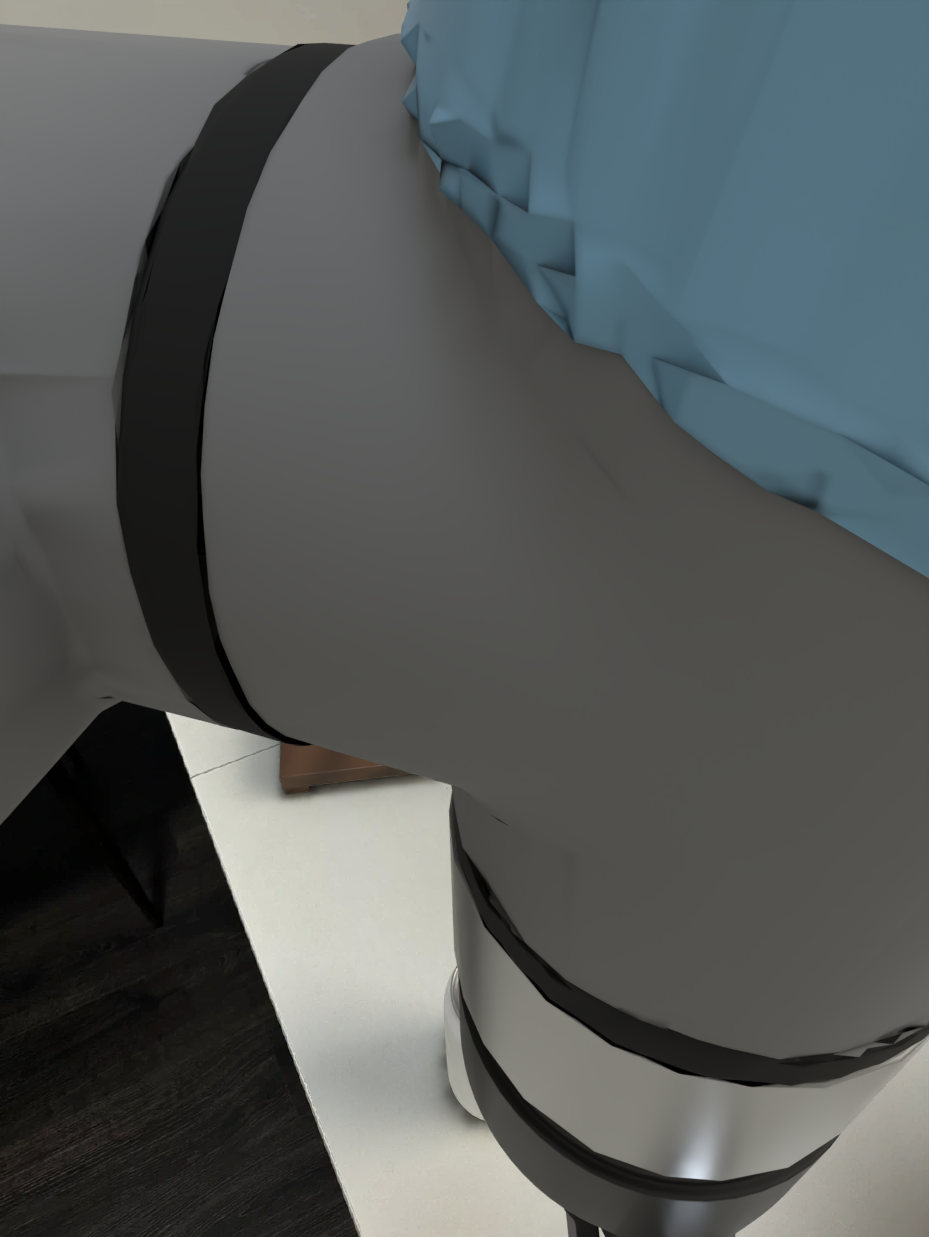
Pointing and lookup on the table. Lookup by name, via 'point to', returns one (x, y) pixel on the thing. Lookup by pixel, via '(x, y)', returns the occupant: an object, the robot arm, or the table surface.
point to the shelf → (324, 768)
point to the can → (457, 1048)
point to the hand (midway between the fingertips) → (572, 1225)
